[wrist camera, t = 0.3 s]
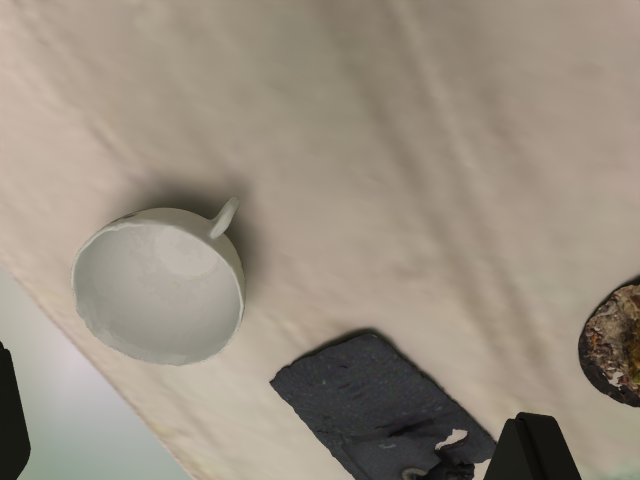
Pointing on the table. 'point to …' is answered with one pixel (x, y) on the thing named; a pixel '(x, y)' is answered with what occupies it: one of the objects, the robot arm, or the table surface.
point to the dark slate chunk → (381, 414)
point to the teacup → (162, 285)
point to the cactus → (614, 346)
